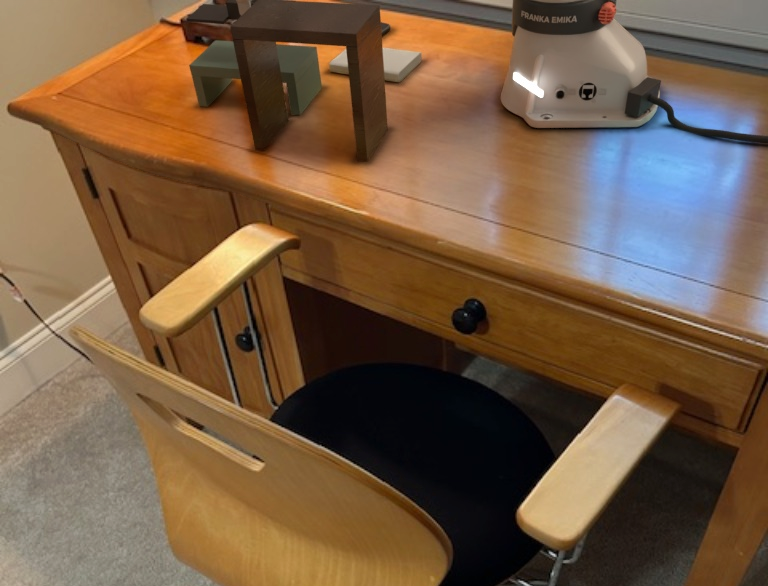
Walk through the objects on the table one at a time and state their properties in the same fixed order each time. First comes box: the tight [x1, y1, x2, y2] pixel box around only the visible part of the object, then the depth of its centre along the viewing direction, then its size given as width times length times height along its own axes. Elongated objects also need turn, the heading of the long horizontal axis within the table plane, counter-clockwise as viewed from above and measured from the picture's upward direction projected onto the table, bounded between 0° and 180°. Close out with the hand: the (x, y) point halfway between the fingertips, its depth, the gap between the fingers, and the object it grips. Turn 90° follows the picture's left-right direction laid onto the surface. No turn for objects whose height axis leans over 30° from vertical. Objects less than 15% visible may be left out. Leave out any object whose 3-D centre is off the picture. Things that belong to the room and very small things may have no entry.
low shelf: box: [188, 39, 323, 116], centre depth 120 cm, size 17×9×6 cm, turn 71°
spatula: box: [186, 0, 294, 25], centre depth 113 cm, size 16×6×2 cm, turn 71°
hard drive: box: [328, 46, 423, 83], centre depth 126 cm, size 2×8×12 cm
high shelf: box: [229, 0, 389, 163], centre depth 106 cm, size 17×9×16 cm, turn 71°
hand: (253, 9), depth 113 cm, fingers closed on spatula, 2 cm apart
